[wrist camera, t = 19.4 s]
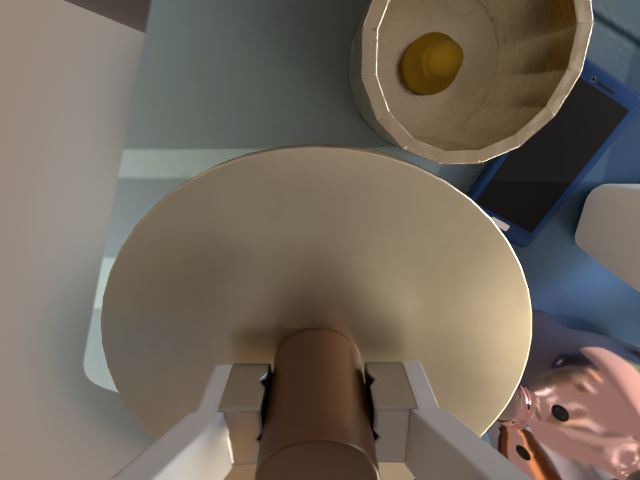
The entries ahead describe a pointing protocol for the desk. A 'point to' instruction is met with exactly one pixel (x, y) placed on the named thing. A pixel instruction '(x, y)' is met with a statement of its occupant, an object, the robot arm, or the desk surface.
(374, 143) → the desk surface
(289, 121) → the desk surface
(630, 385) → the piggy bank
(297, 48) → the desk surface
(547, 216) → the cell phone
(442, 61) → the chess piece
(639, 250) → the cup
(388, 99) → the tin
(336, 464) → the tin lid
